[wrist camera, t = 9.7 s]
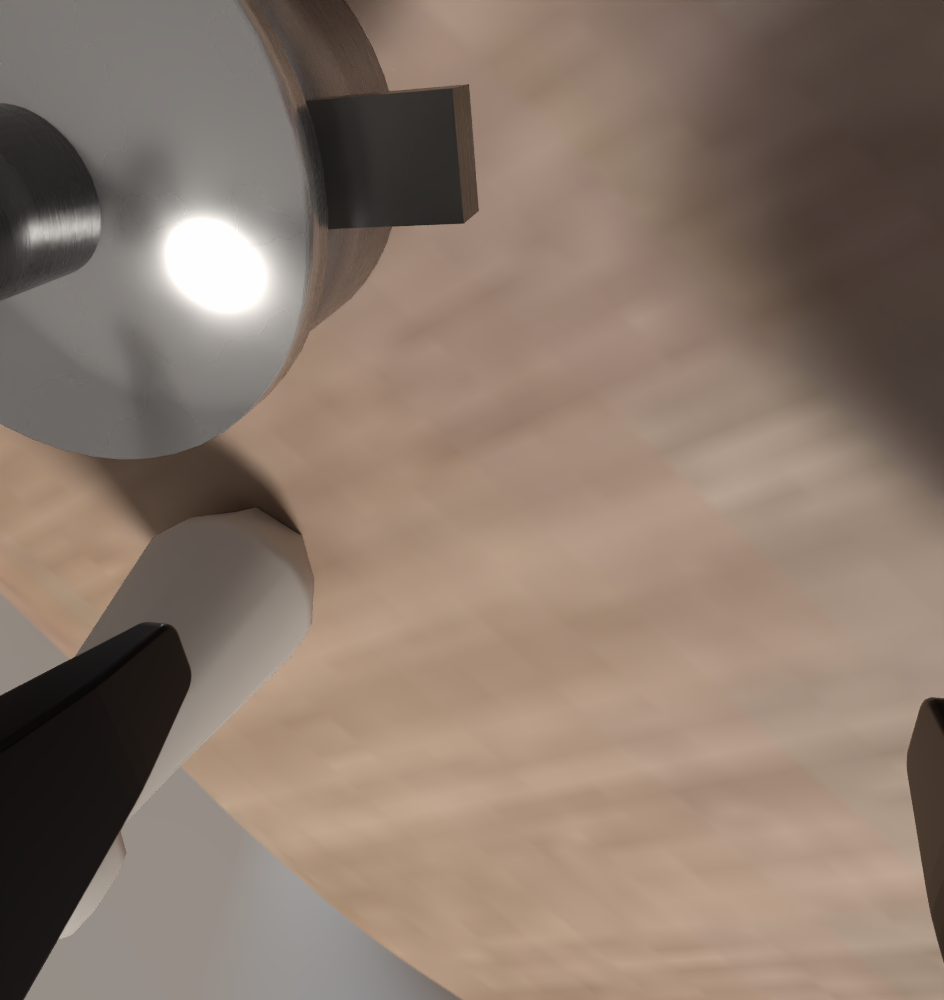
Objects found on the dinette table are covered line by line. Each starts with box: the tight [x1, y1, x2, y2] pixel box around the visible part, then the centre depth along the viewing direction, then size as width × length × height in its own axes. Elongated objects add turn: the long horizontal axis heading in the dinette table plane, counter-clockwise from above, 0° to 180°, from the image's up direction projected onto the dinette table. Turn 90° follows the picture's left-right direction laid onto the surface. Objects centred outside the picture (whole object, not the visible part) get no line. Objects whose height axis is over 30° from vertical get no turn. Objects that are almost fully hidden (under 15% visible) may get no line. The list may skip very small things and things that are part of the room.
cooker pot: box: [258, 0, 479, 331], centre depth 17 cm, size 16×10×6 cm, turn 95°
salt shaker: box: [59, 507, 314, 939], centre depth 22 cm, size 6×6×13 cm
